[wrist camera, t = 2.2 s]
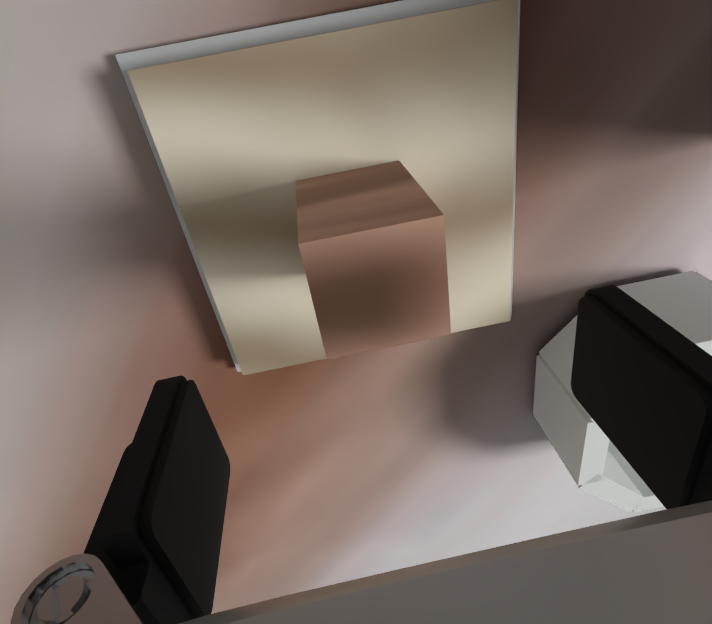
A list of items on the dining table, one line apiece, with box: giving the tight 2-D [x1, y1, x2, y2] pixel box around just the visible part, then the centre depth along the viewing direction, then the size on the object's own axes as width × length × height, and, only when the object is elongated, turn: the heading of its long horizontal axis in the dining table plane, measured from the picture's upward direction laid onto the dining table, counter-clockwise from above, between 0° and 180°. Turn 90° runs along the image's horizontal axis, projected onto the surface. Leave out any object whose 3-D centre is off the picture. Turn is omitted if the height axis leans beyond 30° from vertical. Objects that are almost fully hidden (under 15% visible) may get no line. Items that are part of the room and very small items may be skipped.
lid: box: [127, 0, 518, 375], centre depth 16 cm, size 13×13×7 cm
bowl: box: [533, 271, 712, 513], centre depth 24 cm, size 11×11×6 cm
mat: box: [115, 0, 520, 372], centre depth 20 cm, size 14×14×1 cm
